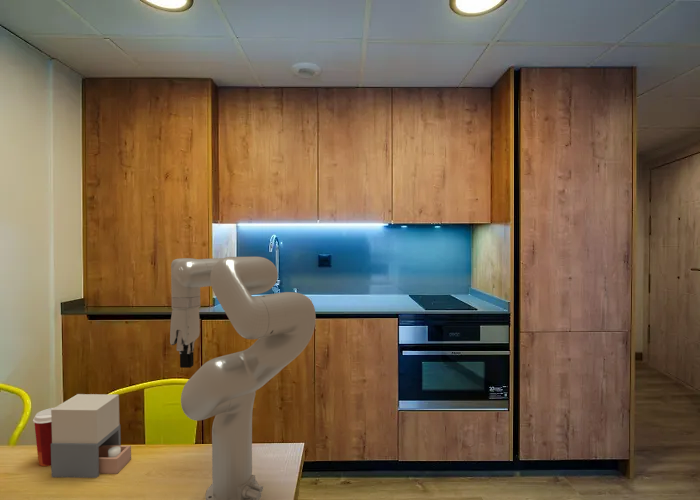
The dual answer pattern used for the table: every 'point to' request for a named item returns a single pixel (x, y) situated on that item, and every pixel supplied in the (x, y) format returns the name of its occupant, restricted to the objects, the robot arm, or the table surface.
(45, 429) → the paper cup
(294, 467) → the table surface
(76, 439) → the counter unit
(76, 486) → the table surface
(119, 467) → the tray
